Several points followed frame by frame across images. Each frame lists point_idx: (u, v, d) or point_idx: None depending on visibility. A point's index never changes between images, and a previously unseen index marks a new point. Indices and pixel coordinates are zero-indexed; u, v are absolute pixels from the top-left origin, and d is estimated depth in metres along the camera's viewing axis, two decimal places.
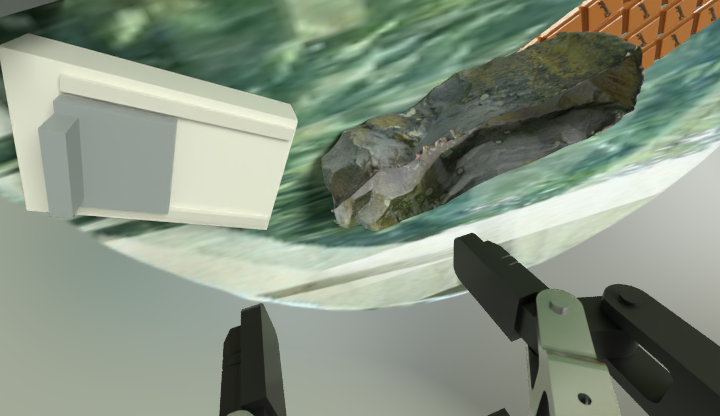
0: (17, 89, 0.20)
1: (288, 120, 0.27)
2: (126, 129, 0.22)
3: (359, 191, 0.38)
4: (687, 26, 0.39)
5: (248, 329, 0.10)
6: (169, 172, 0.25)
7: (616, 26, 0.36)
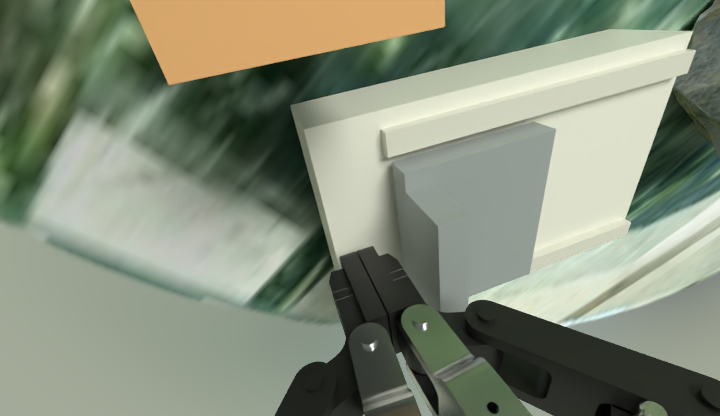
0: (332, 184, 0.13)
1: (677, 38, 0.14)
2: (492, 170, 0.13)
3: None
4: None
5: (352, 269, 0.12)
6: (538, 211, 0.15)
7: None
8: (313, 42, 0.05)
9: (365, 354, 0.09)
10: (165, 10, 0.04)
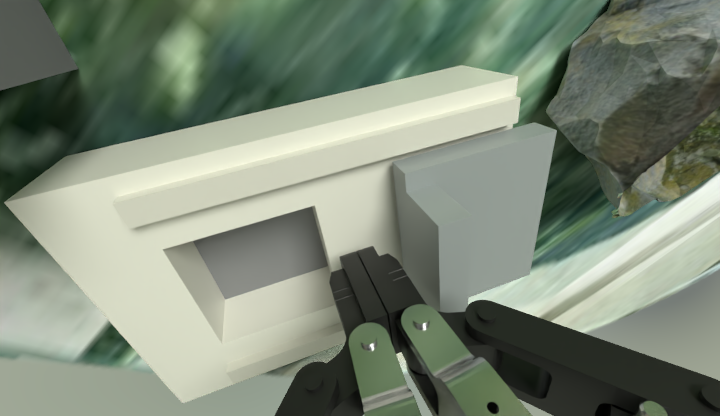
0: (75, 256, 0.11)
1: (500, 85, 0.13)
2: (492, 171, 0.13)
3: None
4: None
5: (352, 269, 0.12)
6: (538, 212, 0.15)
7: None
8: None
9: (365, 354, 0.09)
10: None
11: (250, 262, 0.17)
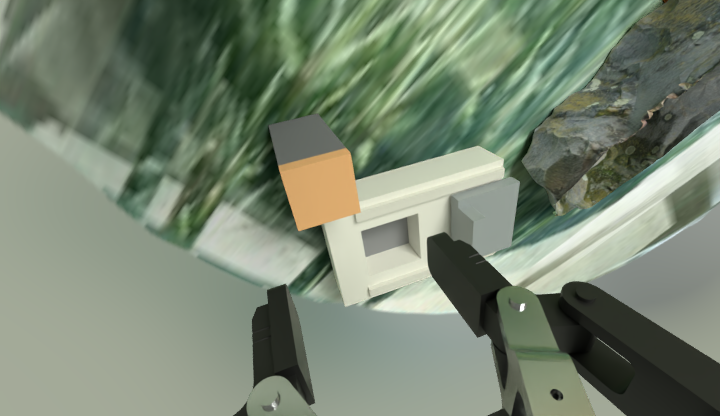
0: (333, 233, 0.29)
1: (496, 163, 0.30)
2: (493, 198, 0.30)
3: None
4: None
5: (275, 306, 0.11)
6: (514, 215, 0.32)
7: None
8: (329, 219, 0.21)
9: None
10: (300, 219, 0.20)
11: (374, 240, 0.34)
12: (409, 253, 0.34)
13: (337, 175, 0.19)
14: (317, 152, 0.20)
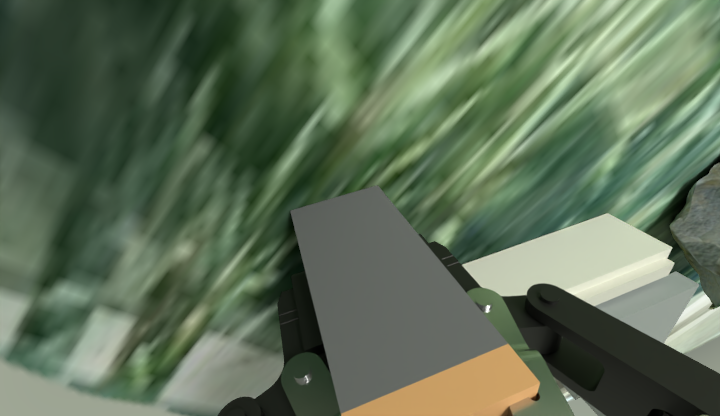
0: None
1: (660, 254, 0.18)
2: (654, 312, 0.18)
3: None
4: None
5: (300, 290, 0.12)
6: (671, 328, 0.21)
7: None
8: None
9: (295, 388, 0.08)
10: None
11: None
12: None
13: None
14: (434, 354, 0.08)
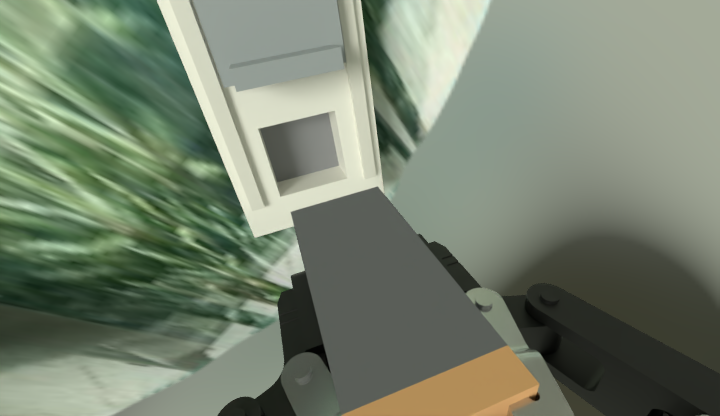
0: (280, 224, 0.27)
1: (160, 0, 0.18)
2: (217, 15, 0.18)
3: None
4: None
5: (300, 290, 0.11)
6: None
7: None
8: None
9: (295, 388, 0.08)
10: None
11: (315, 150, 0.28)
12: (332, 115, 0.26)
13: None
14: (434, 356, 0.08)
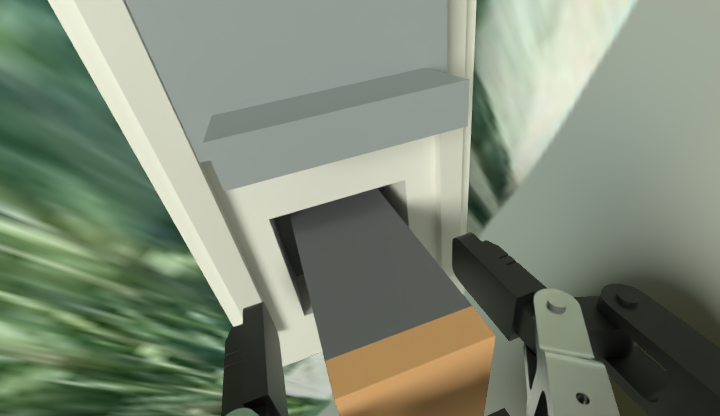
0: (303, 351, 0.17)
1: None
2: (176, 5, 0.07)
3: None
4: None
5: (250, 327, 0.10)
6: None
7: None
8: None
9: None
10: None
11: None
12: None
13: (458, 376, 0.08)
14: (407, 315, 0.09)
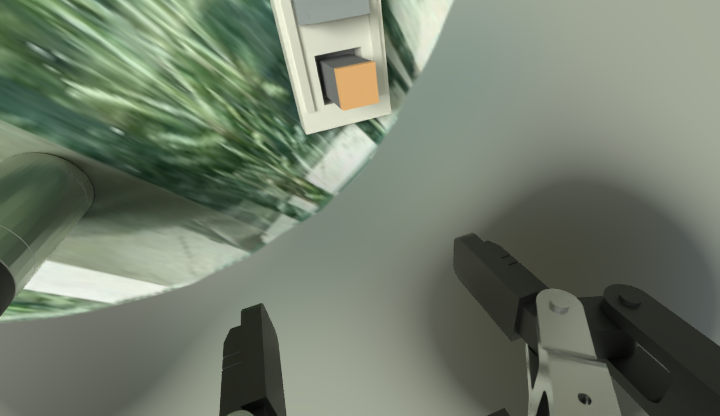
0: (323, 126, 0.42)
1: None
2: None
3: None
4: None
5: (248, 329, 0.10)
6: None
7: None
8: (360, 105, 0.35)
9: None
10: (344, 102, 0.34)
11: None
12: (358, 52, 0.40)
13: (367, 75, 0.33)
14: (355, 63, 0.34)
